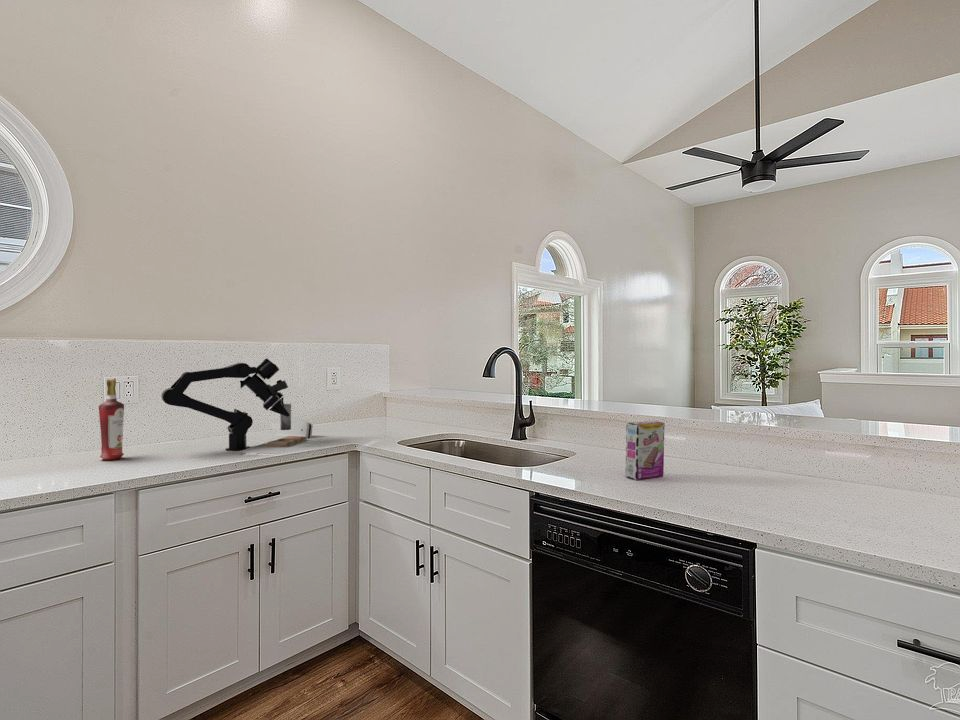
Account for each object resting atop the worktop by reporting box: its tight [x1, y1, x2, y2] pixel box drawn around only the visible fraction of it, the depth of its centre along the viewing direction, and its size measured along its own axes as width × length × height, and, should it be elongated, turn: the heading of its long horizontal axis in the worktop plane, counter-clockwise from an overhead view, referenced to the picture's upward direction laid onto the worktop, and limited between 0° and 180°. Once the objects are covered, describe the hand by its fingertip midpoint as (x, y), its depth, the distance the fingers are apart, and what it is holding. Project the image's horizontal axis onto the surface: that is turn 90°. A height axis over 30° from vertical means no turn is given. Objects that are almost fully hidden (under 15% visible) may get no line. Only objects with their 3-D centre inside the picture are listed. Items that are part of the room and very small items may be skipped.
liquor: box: [98, 378, 125, 461], centre depth 184 cm, size 7×7×28 cm
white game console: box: [272, 418, 314, 440], centre depth 226 cm, size 17×5×10 cm, turn 69°
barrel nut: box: [279, 403, 292, 430], centre depth 209 cm, size 4×4×10 cm
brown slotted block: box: [266, 436, 307, 448], centre depth 210 cm, size 16×8×3 cm, turn 171°
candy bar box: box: [625, 420, 665, 481], centre depth 156 cm, size 11×5×16 cm, turn 118°
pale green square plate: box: [298, 441, 328, 447], centre depth 209 cm, size 8×8×1 cm
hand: (289, 415), depth 210 cm, fingers closed on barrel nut, 4 cm apart
